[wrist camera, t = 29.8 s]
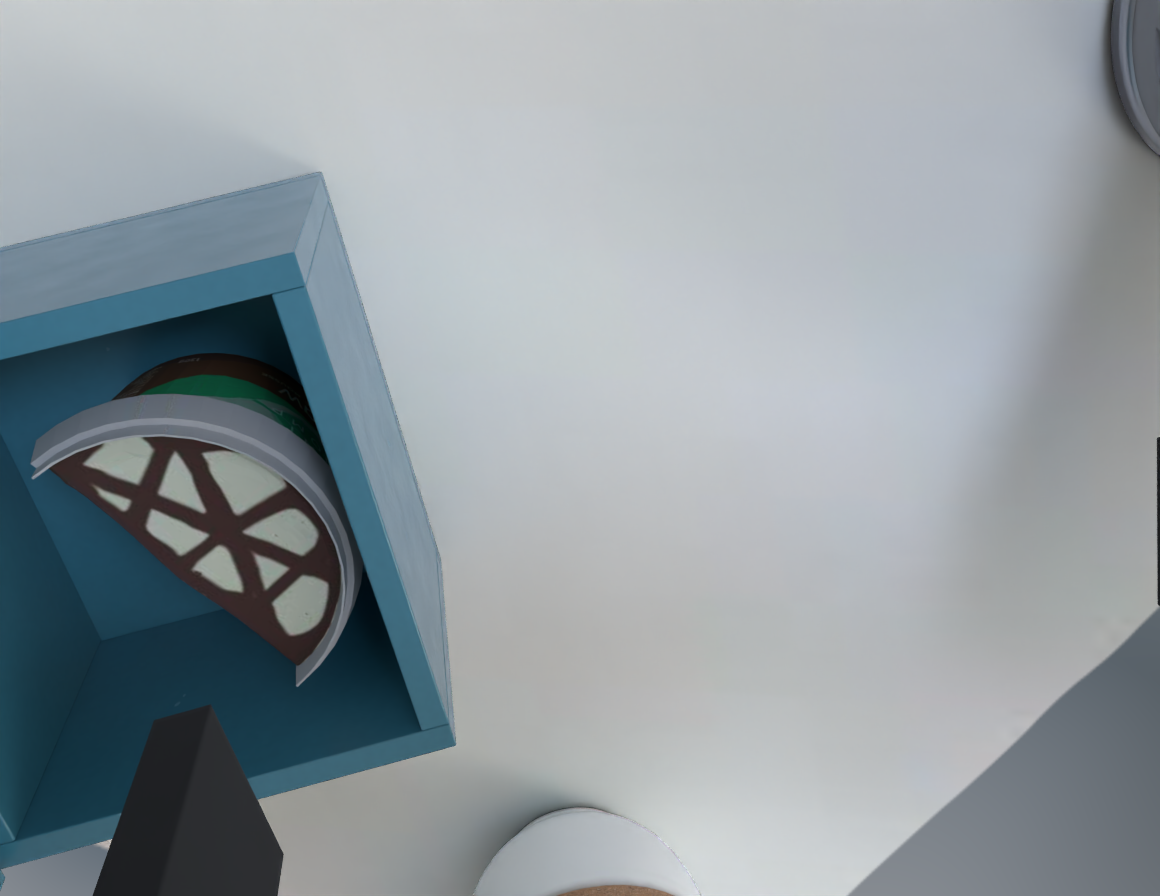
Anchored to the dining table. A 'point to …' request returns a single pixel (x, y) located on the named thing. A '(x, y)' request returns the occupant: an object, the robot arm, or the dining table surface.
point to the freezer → (137, 578)
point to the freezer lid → (1, 879)
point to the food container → (223, 493)
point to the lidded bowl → (585, 859)
